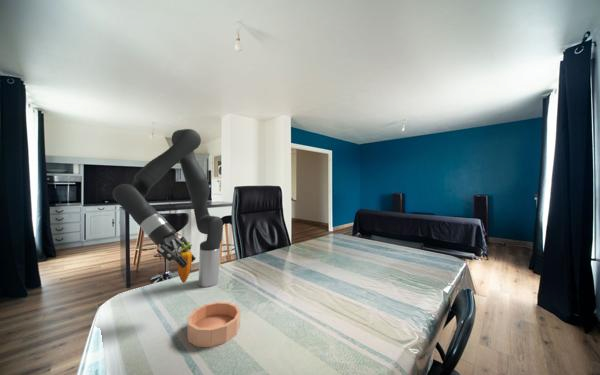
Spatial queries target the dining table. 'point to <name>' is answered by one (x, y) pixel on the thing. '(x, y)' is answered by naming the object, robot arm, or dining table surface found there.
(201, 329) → the terracotta bowl
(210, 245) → the robot arm
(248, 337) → the dining table surface
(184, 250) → the carrot
